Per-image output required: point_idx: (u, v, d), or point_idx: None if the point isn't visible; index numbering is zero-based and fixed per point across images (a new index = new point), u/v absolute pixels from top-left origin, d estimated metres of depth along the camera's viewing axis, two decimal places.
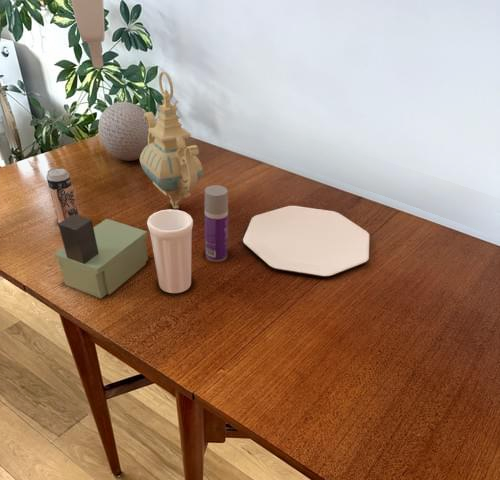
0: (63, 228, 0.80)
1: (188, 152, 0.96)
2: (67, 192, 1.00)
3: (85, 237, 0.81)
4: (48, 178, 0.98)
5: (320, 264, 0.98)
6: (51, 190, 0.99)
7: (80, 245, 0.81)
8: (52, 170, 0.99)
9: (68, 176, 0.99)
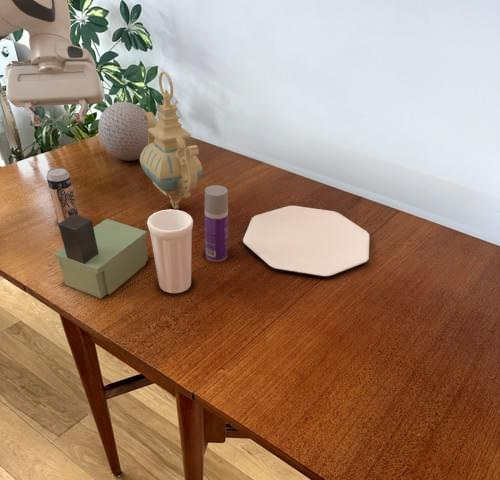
0: (63, 228, 0.80)
1: (188, 152, 0.96)
2: (67, 192, 1.00)
3: (85, 237, 0.81)
4: (48, 178, 0.98)
5: (320, 264, 0.98)
6: (51, 190, 0.99)
7: (80, 245, 0.81)
8: (52, 170, 0.99)
9: (68, 176, 0.99)
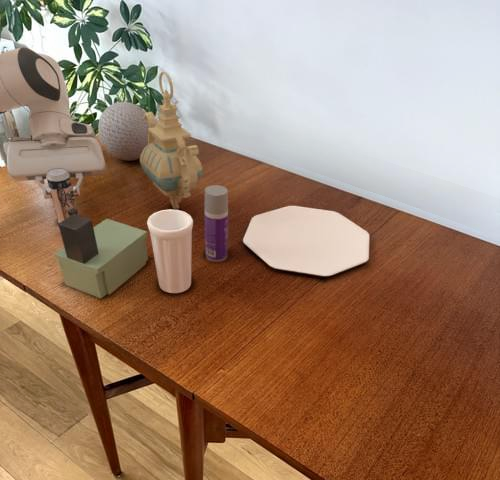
0: (63, 228, 0.80)
1: (188, 152, 0.96)
2: (67, 192, 1.00)
3: (85, 237, 0.81)
4: (48, 178, 0.98)
5: (320, 264, 0.98)
6: (51, 190, 1.00)
7: (80, 245, 0.81)
8: (52, 170, 0.99)
9: (68, 176, 0.99)
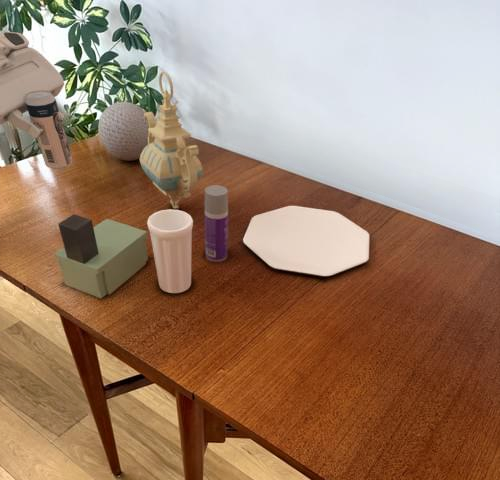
0: (63, 228, 0.80)
1: (188, 152, 0.96)
2: (60, 117, 0.79)
3: (85, 237, 0.81)
4: (39, 103, 0.75)
5: (320, 264, 0.98)
6: (44, 120, 0.77)
7: (80, 245, 0.81)
8: (29, 96, 0.76)
9: None
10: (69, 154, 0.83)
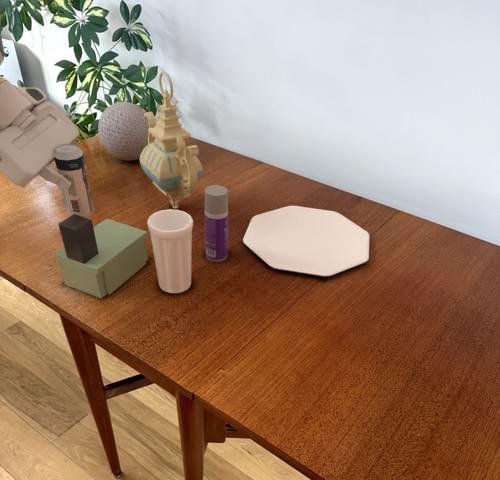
0: (63, 228, 0.80)
1: (188, 152, 0.96)
2: (85, 168, 0.82)
3: (85, 237, 0.81)
4: (70, 157, 0.77)
5: (320, 264, 0.98)
6: (74, 173, 0.79)
7: (80, 245, 0.81)
8: (58, 150, 0.77)
9: None
10: (92, 202, 0.85)
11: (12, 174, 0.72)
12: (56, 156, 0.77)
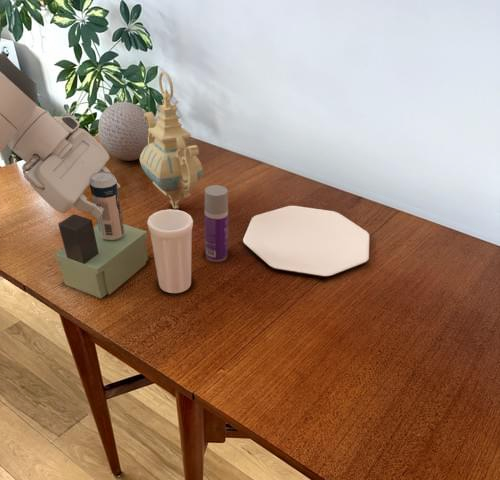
0: (63, 228, 0.80)
1: (188, 152, 0.96)
2: (118, 194, 0.86)
3: (85, 237, 0.81)
4: (106, 185, 0.81)
5: (320, 264, 0.98)
6: (109, 199, 0.83)
7: (80, 245, 0.81)
8: (94, 178, 0.82)
9: None
10: None
11: (54, 201, 0.76)
12: (92, 184, 0.82)
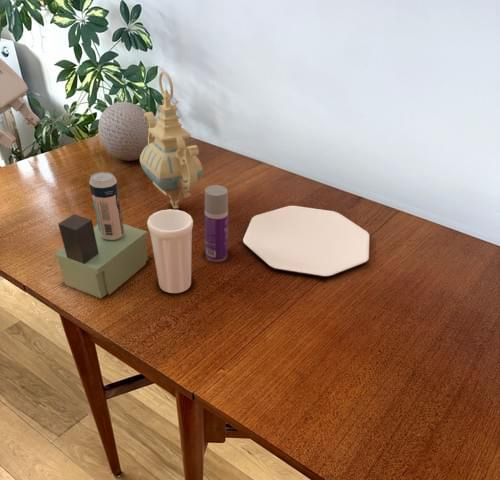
0: (63, 228, 0.80)
1: (188, 152, 0.96)
2: (118, 194, 0.86)
3: (85, 237, 0.81)
4: (106, 185, 0.81)
5: (320, 264, 0.98)
6: (109, 199, 0.83)
7: (80, 245, 0.81)
8: (94, 178, 0.82)
9: None
10: None
11: None
12: (92, 184, 0.82)
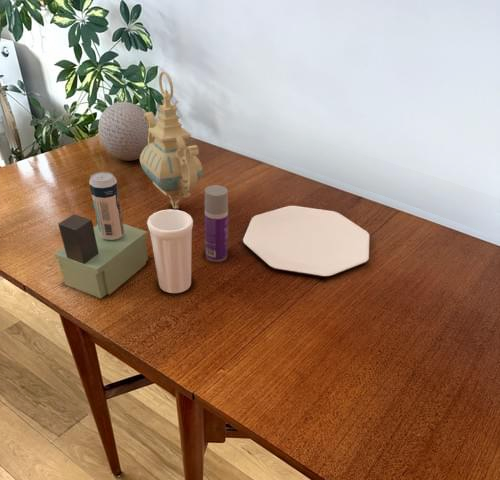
0: (63, 228, 0.80)
1: (188, 152, 0.96)
2: (118, 194, 0.86)
3: (85, 237, 0.81)
4: (106, 185, 0.81)
5: (320, 264, 0.98)
6: (109, 199, 0.83)
7: (80, 245, 0.81)
8: (94, 178, 0.82)
9: None
10: None
11: None
12: (92, 184, 0.82)
